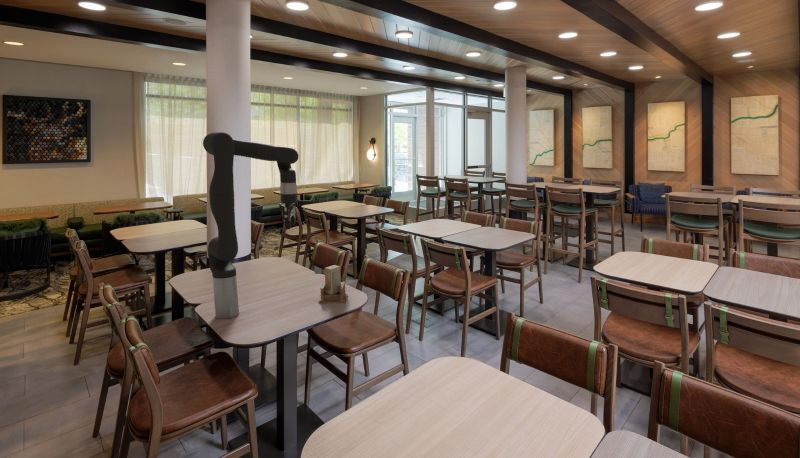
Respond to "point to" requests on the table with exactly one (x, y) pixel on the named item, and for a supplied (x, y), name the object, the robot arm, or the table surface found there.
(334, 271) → the skincare box
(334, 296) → the stand
